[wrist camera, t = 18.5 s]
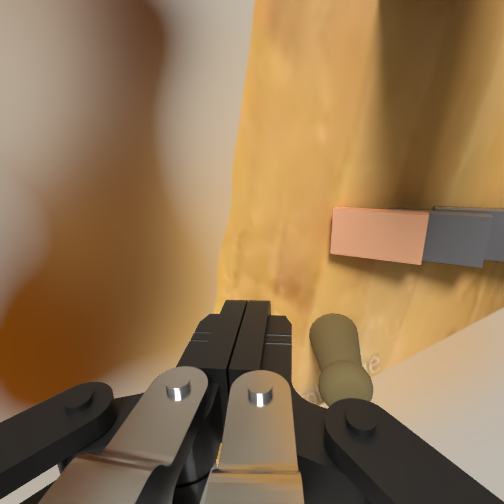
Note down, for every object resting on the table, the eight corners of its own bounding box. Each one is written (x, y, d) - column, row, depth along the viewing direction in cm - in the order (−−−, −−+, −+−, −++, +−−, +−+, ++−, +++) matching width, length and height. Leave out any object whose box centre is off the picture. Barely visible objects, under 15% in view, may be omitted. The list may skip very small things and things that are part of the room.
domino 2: (387, 210, 33) (493, 217, 29) (389, 207, 34) (490, 213, 30) (382, 255, 34) (482, 268, 30) (384, 251, 36) (479, 262, 32)
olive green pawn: (364, 345, 40) (390, 414, 30) (320, 360, 41) (330, 431, 31) (347, 306, 39) (368, 364, 28) (301, 323, 40) (306, 384, 30)
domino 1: (333, 209, 33) (429, 215, 30) (336, 206, 35) (428, 212, 31) (330, 253, 35) (420, 265, 31) (333, 248, 37) (420, 259, 33)
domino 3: (435, 209, 32) (547, 213, 29) (433, 206, 34) (540, 209, 30) (429, 255, 34) (534, 264, 30) (427, 250, 35) (527, 258, 32)
